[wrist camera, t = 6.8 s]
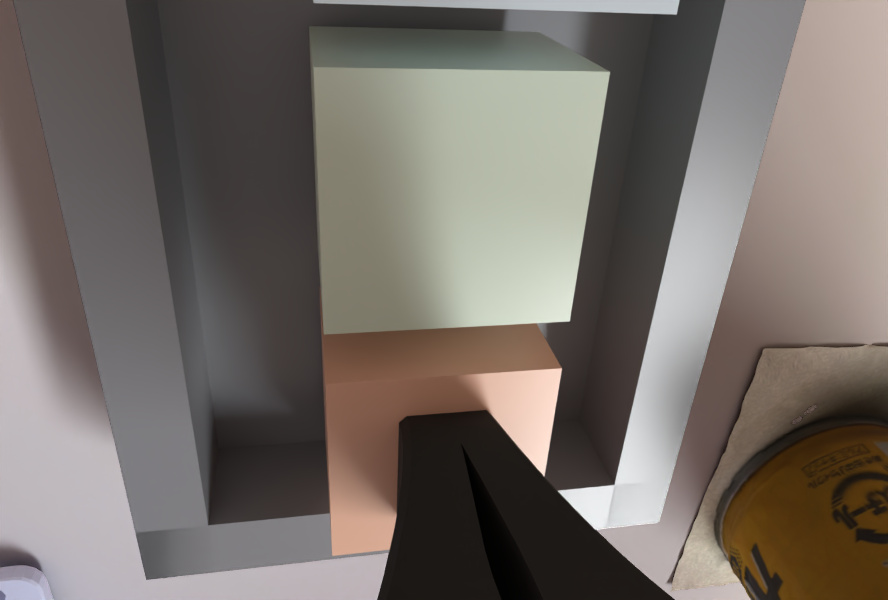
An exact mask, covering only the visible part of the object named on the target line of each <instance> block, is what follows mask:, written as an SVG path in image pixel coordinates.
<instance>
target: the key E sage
mask: <svg viewBox="0 0 888 600" xmlns="http://www.w3.org/2000/svg"><path fill="white" fill-rule="evenodd" d="M309 41H310V66H311V90H312V115H313V140H314V165H315V190H316V215H317V240H318V257H319V271H320V286H321V301H322V316H323V330H324V335H325V334H344V333H362V332H381V331H400V330H419V329H437V328H456V327H475V326H493V325H512V324H531V323H550V322H568V321H570V316H571V310H572V304H573V298H574V291H575V285H576V279H577V273H578V267H579V261H580V254H581V248H582V242H583V236H584V230H585V224H586V217H587V211H588V205H589V199H590V193H591V187H592V180H593V174H594V168H595V162H596V156H597V150H598V143H599V137H600V131H601V125H602V119H603V113H604V106H605V100H606V94H607V88H608V82H609V76H610V71H608V70H606V69H604V68H603V67H601V66H599V65H597V64H595V63H594V62H592V61H590V60H588V59H586V58H585V57H583V56H581V55H579V54H577V53H576V52H574V51H572V50H570V49H569V48H567V47H565V46H563V45H561V44H560V43H558V42H556V41H554V40H552V39H551V38H549V37H547V36H545V35H543V34H542V33H540V32H522V31H484V30H445V29H406V28H367V27H329V26H309Z"/></svg>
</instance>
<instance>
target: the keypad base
mask: <svg viewBox="0 0 888 600" xmlns="http://www.w3.org/2000/svg"><path fill="white" fill-rule="evenodd" d="M805 1H806V0H679V5H678V10H677V15H675V14H643V13H612V12H580V11H548V10H517V9H485V8H454V7H422V6H391V5H359V4H328V3H314V2H313V0H13V2H14V7H15V11H16V15H17V20H18V24H19V28H20V33H21V37H22V42H23V46H24V50H25V55H26V59H27V63H28V68H29V72H30V76H31V81H32V85H33V89H34V94H35V98H36V102H37V107H38V111H39V115H40V120H41V124H42V128H43V133H44V137H45V141H46V146H47V150H48V154H49V159H50V163H51V168H52V172H53V176H54V181H55V185H56V189H57V194H58V198H59V202H60V207H61V211H62V215H63V220H64V224H65V228H66V233H67V237H68V241H69V246H70V250H71V254H72V259H73V263H74V267H75V272H76V276H77V280H78V285H79V289H80V294H81V298H82V302H83V307H84V311H85V315H86V320H87V324H88V328H89V333H90V337H91V341H92V346H93V350H94V354H95V359H96V363H97V367H98V372H99V376H100V380H101V385H102V389H103V393H104V398H105V402H106V406H107V411H108V415H109V420H110V424H111V428H112V433H113V437H114V441H115V446H116V450H117V454H118V459H119V463H120V467H121V472H122V476H123V480H124V485H125V489H126V493H127V498H128V502H129V506H130V511H131V515H132V519H133V524H134V528H135V532H136V537H137V541H138V546H139V550H140V554H141V559H142V563H143V567H144V572H145V576H146V580H149V579H158V578H167V577H176V576H185V575H194V574H203V573H212V572H221V571H230V570H239V569H248V568H257V567H266V566H275V565H283V564H292V563H301V562H310V561H319V560H328V559H337V558H346V557H355V556H364V555H373V554H382V553H389V550H382V551H373V552H364V553H355V554H346V555H337V556H332V544H331V526H330V509H329V492H328V475H327V457H326V440H325V415H324V390H323V365H322V340H321V315H320V290H319V287H321V286H320V271H319V257H318V240H317V215H316V190H315V165H314V140H313V115H312V90H311V66H310V41H309V26H329V27H367V28H406V29H445V30H484V31H522V32H540V33H542V34H543V35H545V36H547V37H549V38H551V39H552V40H554V41H556V42H558V43H560V44H561V45H563V46H565V47H567V48H569V49H570V50H572V51H574V52H576V53H577V54H579V55H581V56H583V57H585V58H586V59H588V60H590V61H592V62H594V63H595V64H597V65H599V66H601V67H603V68H604V69H606V70H608V71H610V76H609V82H608V88H607V94H606V100H605V106H604V113H603V119H602V125H601V131H600V137H599V143H598V150H597V156H596V162H595V168H594V174H593V180H592V187H591V193H590V199H589V205H588V211H587V217H586V224H585V230H584V236H583V242H582V248H581V254H580V261H579V267H578V273H577V279H576V285H575V291H574V298H573V304H572V310H571V316H570V321H568V322H550V323H537V325H538V327H539V329H540V330H541V332H542V334H543V336H544V337H545V339H546V341H547V343H548V345H549V346H550V348H551V350H552V352H553V353H554V355H555V357H556V359H557V360H558V362H559V364H560V366H561V368H562V371H561V378H560V384H559V390H558V396H557V402H556V408H555V415H554V421H553V427H552V433H551V439H550V445H549V452H548V458H547V464H546V470H545V476H544V477H545V478H546V479H547V480H548V481H549V482H550V483H551V484H552V485H553V486H554V487H555V488H556V490H557V491H558V492H559V493H560V494H561V495H562V496H563V497H564V498H565V499H566V500H567V501H568V502H569V503H570V504H571V505H572V506H573V508H574V509H575V510H576V511H577V512H578V513H579V514H580V515H581V516H582V517H583V518H584V519H585V520H586V521H587V522H588V523H589V524H590V525H591V526H592V527H593V528H594V529H595V530H598V529H607V528H616V527H625V526H634V525H643V524H652V523H659V521H660V517H661V514H662V510H663V507H664V503H665V500H666V496H667V493H668V489H669V485H670V482H671V478H672V475H673V471H674V468H675V464H676V461H677V457H678V453H679V450H680V446H681V443H682V439H683V436H684V432H685V428H686V425H687V421H688V418H689V414H690V411H691V407H692V404H693V400H694V396H695V393H696V389H697V386H698V382H699V379H700V375H701V372H702V368H703V364H704V361H705V357H706V354H707V350H708V347H709V343H710V339H711V336H712V332H713V329H714V325H715V322H716V318H717V315H718V311H719V307H720V304H721V300H722V297H723V293H724V290H725V286H726V283H727V279H728V275H729V272H730V268H731V265H732V261H733V258H734V254H735V250H736V247H737V243H738V240H739V236H740V233H741V229H742V226H743V222H744V218H745V215H746V211H747V208H748V204H749V201H750V197H751V193H752V190H753V186H754V183H755V179H756V176H757V172H758V169H759V165H760V161H761V158H762V154H763V151H764V147H765V144H766V140H767V137H768V133H769V129H770V126H771V122H772V119H773V115H774V112H775V108H776V104H777V101H778V97H779V94H780V90H781V87H782V83H783V80H784V76H785V72H786V69H787V65H788V62H789V58H790V55H791V51H792V48H793V44H794V40H795V37H796V33H797V30H798V26H799V23H800V19H801V15H802V12H803V8H804V5H805Z"/></svg>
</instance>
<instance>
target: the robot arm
mask: <svg viewBox="0 0 888 600" xmlns="http://www.w3.org/2000/svg"><path fill="white" fill-rule="evenodd" d="M0 600H54V599H53V596H52V593H51V590H50V587H49V584H48V581H47V578H46V577H45V575H44V574H43V572H41V571H40V570H38V569H36V568H34V567H31V566H27V565H17V566H7V567H0ZM377 600H675V599H673V598H672V597H671V596H670V595H668V594H667V593H666V592H665V591H664V590H662V589H661V588H660V587H659V586H657V585H656V584H655V583H654V582H653V581H651V580H650V579H649V578H648V577H647V576H646V575H644V574H643V573H642V572H641V571H640V570H639V569H637V568H636V567H635V566H634V565H633V564H632V563H631V562H630V561H629V560H627V559H626V558H625V557H624V556H623V555H622V554H621V553H620V552H619V551H618V550H616V549H615V548H614V547H613V546H612V545H611V544H610V543H609V542H608V541H607V540H606V539H605V538H604V537H603V536H602V535H601V534H600V533H599V532H597V531H596V530H595V529H594V528H593V527H592V526H591V525H590V524H589V523H588V522H587V521H586V520H585V519H584V518H583V517H582V516H581V515H580V514H579V513H578V512H577V511H576V510H575V509H574V508H573V506H572V505H571V504H570V503H569V502H568V501H567V500H566V499H565V498H564V497H563V496H562V495H561V494H560V493H559V492H558V491H557V490H556V488H555V487H554V486H553V485H552V484H551V483H550V482H549V481H548V480H547V479H546V478H545V477H544V476H543V474H542V473H541V472H540V471H539V470H538V469H537V468H536V467H535V465H534V464H533V463H532V462H531V461H530V460H529V459H528V457H527V456H526V455H525V454H524V453H523V452H522V451H521V449H520V448H519V447H518V446H517V445H516V443H515V442H514V441H513V440H512V439H511V437H510V436H509V435H508V434H507V433H506V431H505V430H504V429H503V428H502V427H501V425H500V424H499V423H498V422H497V420H496V419H495V418H494V417H493V416H492V415H491V414H490V413H489V412H488V411H487V410H478V411H466V412H454V413H440V414H427V415H414V416H406V417H405V418H404V419H403V420H401V421H400V422H399V438H398V478H397V516H396V522H395V528H394V532H393V537H392V541H391V546H390V550H389V555H388V559H387V564H386V568H385V573H384V577H383V581H382V584H381V588H380V592H379V596H378V599H377Z"/></svg>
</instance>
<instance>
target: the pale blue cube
mask: <svg viewBox="0 0 888 600" xmlns="http://www.w3.org/2000/svg"><path fill="white" fill-rule="evenodd" d="M313 2H314V3H328V4H359V5H391V6H422V7H454V8H485V9H517V10H548V11H580V12H612V13H643V14H675V15H677V10H678V5H679V0H313Z"/></svg>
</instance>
